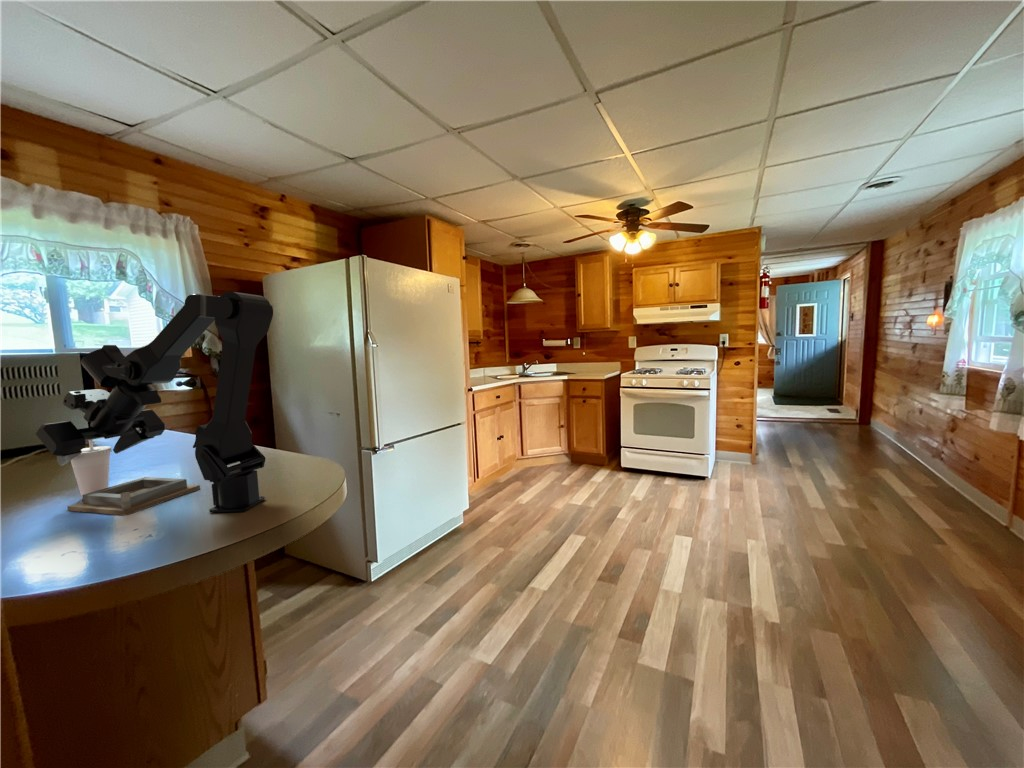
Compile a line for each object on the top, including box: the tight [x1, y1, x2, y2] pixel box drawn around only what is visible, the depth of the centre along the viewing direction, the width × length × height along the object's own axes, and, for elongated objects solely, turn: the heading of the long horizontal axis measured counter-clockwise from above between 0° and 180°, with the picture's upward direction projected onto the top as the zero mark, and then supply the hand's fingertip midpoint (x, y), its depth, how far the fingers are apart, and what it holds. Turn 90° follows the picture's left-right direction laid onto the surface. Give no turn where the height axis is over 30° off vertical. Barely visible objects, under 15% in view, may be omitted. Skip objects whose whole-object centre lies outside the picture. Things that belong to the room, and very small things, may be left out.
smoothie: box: [70, 439, 113, 500], centre depth 84 cm, size 6×6×14 cm
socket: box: [67, 476, 201, 516], centre depth 82 cm, size 14×14×4 cm
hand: (89, 457), depth 84 cm, fingers open, 9 cm apart
